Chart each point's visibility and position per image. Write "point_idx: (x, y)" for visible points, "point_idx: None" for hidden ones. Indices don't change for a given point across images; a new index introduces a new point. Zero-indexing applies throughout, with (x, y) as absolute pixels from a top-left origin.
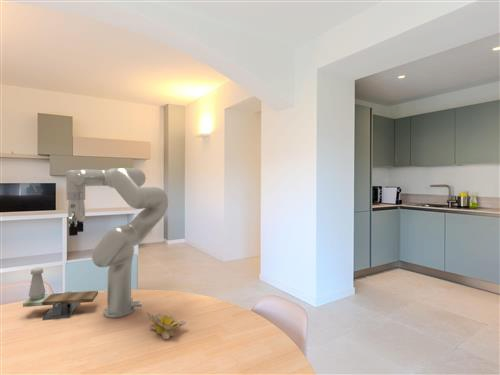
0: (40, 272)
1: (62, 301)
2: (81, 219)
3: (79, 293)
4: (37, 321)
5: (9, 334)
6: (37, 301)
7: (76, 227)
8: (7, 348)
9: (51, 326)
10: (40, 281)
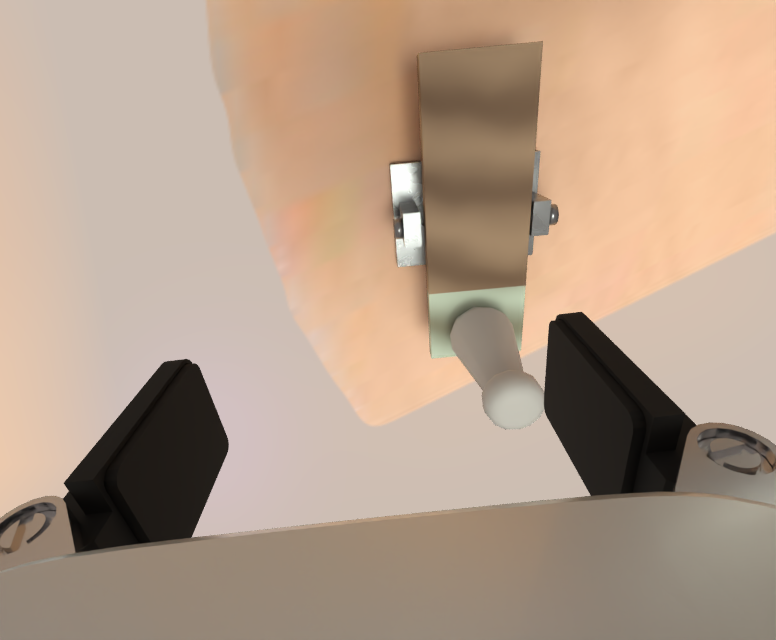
0: (530, 376)
1: (529, 202)
2: (637, 552)
3: (446, 155)
4: (535, 263)
5: (611, 302)
6: (512, 307)
7: (663, 409)
8: (710, 257)
9: (596, 190)
10: (510, 349)
